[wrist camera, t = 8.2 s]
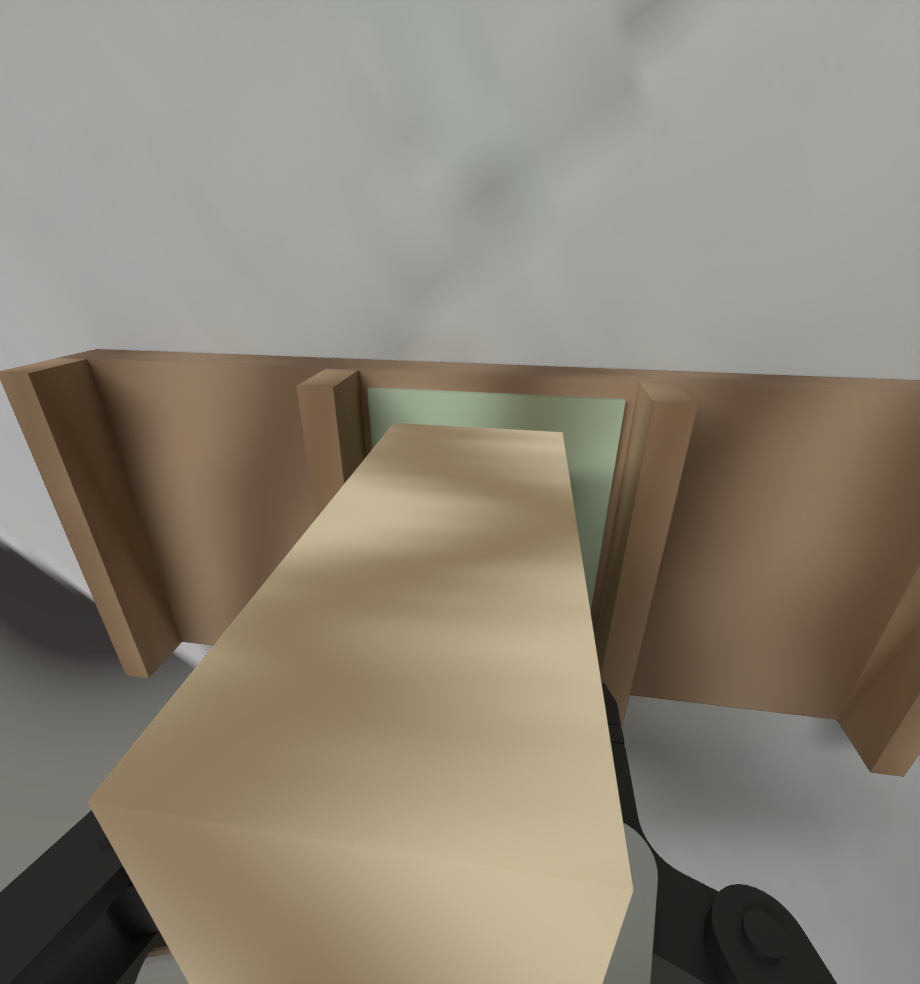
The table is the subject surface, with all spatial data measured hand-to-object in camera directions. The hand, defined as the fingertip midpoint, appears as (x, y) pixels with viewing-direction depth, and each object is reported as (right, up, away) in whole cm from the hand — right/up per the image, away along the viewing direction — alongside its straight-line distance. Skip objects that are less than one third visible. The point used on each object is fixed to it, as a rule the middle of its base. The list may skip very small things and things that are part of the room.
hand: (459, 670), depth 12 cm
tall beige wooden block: (0, +1, +2) cm, 2 cm away
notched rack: (+1, +3, +6) cm, 7 cm away
